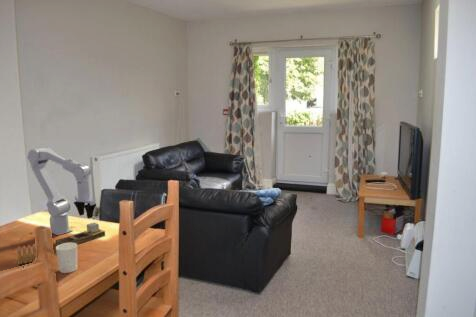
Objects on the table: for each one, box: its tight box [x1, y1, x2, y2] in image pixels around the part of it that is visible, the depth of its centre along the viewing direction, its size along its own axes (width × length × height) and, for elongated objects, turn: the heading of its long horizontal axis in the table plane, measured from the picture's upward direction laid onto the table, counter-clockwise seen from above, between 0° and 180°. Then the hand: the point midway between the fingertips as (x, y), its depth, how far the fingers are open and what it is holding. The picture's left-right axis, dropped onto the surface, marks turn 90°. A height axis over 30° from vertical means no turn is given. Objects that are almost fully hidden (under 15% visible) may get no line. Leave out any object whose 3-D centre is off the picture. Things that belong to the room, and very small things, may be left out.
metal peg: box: [86, 222, 100, 234], centre depth 200 cm, size 4×4×6 cm
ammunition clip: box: [17, 243, 37, 266], centre depth 160 cm, size 11×2×12 cm, turn 117°
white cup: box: [55, 242, 78, 274], centre depth 163 cm, size 8×8×10 cm
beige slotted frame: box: [55, 228, 106, 246], centre depth 196 cm, size 8×21×2 cm, turn 141°
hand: (85, 216), depth 201 cm, fingers open, 7 cm apart
